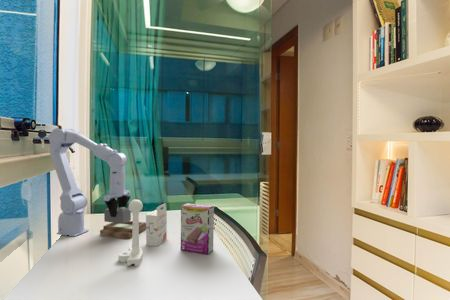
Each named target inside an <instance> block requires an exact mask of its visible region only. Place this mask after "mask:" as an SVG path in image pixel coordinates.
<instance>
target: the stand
mask: <svg viewBox="0 0 450 300" xmlns="http://www.w3.org/2000/svg"><path fill="white" fill-rule="evenodd" d="M132 229H133V220H130V221H128V222H125V223H114V222H109V223H108V224H106V225H103V229H100V230H99V235H100V236H105V237H111V238H112V237H113V238H120V239H121V238H122V239H129V240H130V239H132ZM144 231H146V221H144V222H143V221H139V234H140V233H143V232H144Z"/></svg>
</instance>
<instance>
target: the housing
mask: <svg viewBox="0 0 450 300" xmlns="http://www.w3.org/2000/svg"><path fill="white" fill-rule="evenodd" d="M103 210H104V213H103V214H104V217H103V218H104V222H107V223H112V222H114V223H125V222H128V221H132V220H131V218H132V212H131V211H130V210H129V207H126V208H125V207H119V206H117V214H116V217H111V216H110V212H109V209H108V207H107V208H105V209H103Z"/></svg>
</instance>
